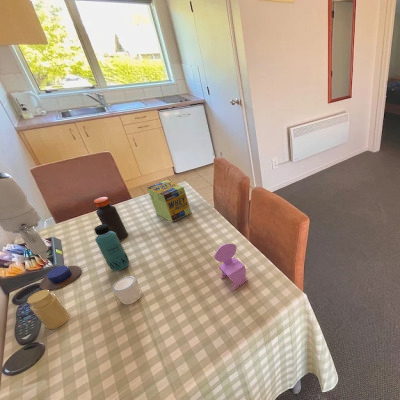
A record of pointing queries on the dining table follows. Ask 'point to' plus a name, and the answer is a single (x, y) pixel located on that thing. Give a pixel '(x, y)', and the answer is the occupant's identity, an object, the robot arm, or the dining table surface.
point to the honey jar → (48, 309)
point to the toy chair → (231, 264)
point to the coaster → (50, 286)
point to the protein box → (169, 200)
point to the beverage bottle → (111, 248)
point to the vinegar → (110, 217)
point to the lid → (59, 274)
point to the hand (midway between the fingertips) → (42, 251)
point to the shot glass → (127, 290)
